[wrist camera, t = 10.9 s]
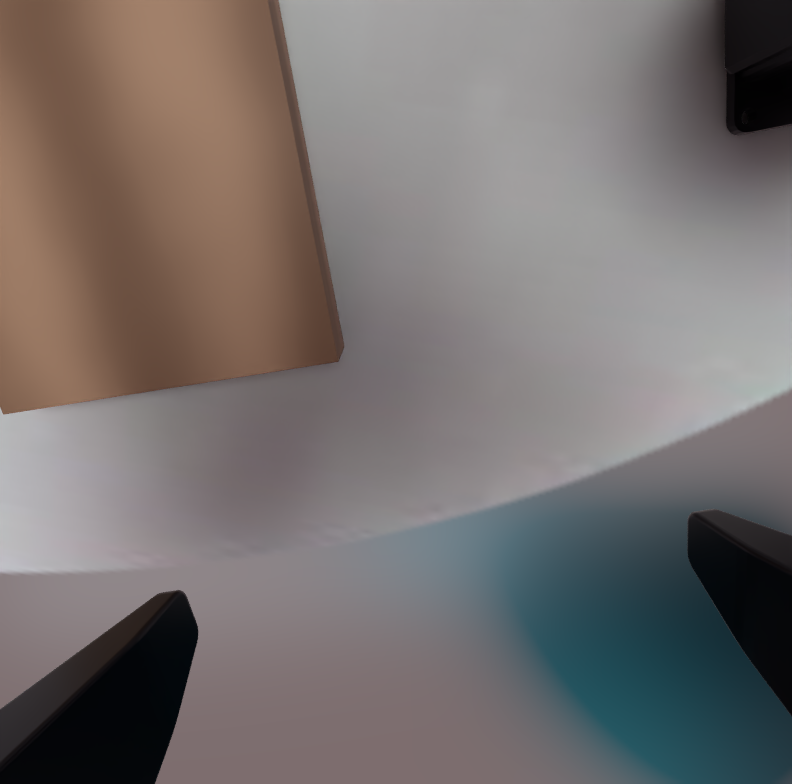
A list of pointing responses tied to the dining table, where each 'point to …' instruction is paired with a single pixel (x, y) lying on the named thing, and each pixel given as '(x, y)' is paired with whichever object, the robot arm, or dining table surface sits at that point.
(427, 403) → the dining table surface
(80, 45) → the walnut riser block
